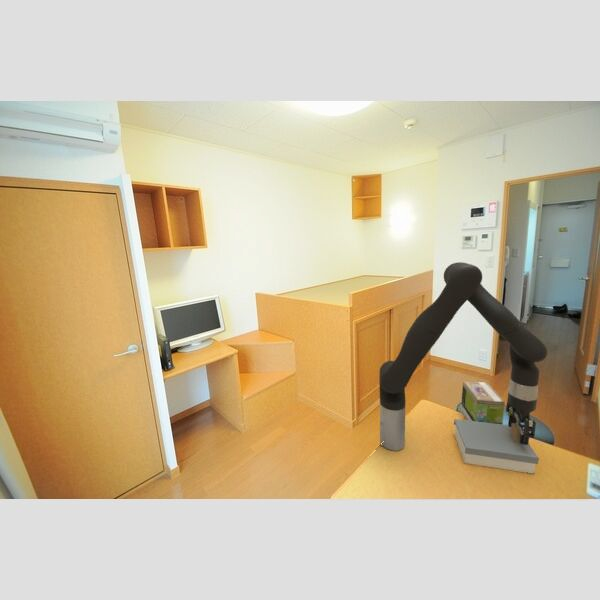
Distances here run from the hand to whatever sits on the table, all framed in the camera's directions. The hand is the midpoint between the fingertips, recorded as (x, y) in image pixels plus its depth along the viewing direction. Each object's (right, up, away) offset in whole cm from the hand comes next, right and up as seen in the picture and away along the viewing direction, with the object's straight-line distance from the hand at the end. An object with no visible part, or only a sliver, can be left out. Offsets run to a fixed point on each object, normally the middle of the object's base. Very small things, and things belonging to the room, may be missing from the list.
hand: (517, 435), depth 93 cm
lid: (-7, -4, +3) cm, 9 cm away
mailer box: (-7, -9, +4) cm, 12 cm away
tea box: (0, -5, +20) cm, 21 cm away
